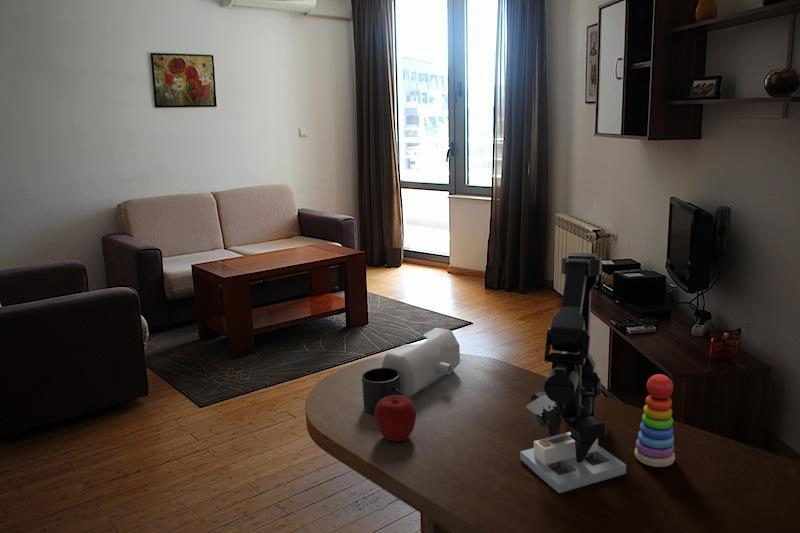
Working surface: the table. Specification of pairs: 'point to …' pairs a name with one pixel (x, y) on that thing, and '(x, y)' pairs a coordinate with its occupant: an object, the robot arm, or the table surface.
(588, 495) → the table surface
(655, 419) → the stacking toy
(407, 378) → the tank
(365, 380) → the mug
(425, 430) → the table surface
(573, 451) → the power strip
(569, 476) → the keyhole board
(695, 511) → the table surface
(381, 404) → the apple
